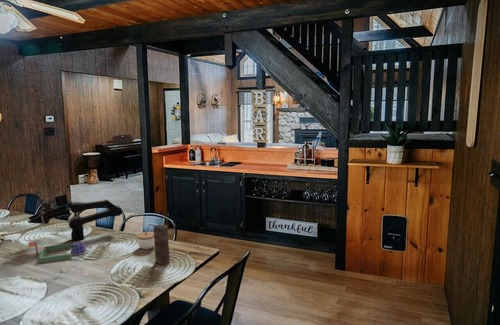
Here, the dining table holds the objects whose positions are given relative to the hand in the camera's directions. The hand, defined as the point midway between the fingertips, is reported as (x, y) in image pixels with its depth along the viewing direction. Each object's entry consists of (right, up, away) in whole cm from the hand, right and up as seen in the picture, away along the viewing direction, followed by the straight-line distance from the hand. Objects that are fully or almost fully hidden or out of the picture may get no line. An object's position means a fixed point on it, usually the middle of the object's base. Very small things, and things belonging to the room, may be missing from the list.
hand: (28, 220), depth 202 cm
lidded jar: (+69, -16, +2) cm, 71 cm away
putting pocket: (+19, -18, -9) cm, 28 cm away
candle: (+83, -19, -18) cm, 88 cm away
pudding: (+32, -18, -4) cm, 37 cm away
